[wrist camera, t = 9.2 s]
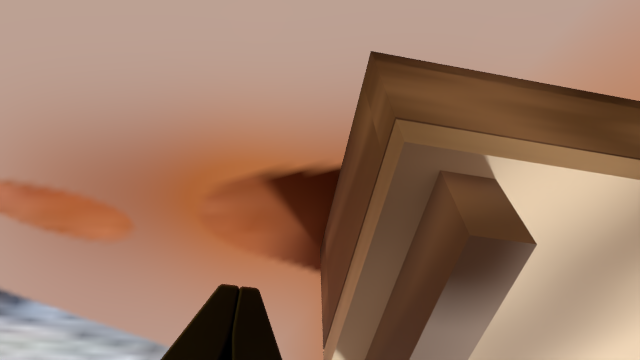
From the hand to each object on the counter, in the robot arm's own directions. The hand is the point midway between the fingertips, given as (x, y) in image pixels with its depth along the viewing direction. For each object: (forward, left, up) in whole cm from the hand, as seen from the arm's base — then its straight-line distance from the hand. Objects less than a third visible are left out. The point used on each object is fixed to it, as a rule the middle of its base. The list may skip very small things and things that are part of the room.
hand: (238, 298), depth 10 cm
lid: (-9, 0, -2) cm, 9 cm away
